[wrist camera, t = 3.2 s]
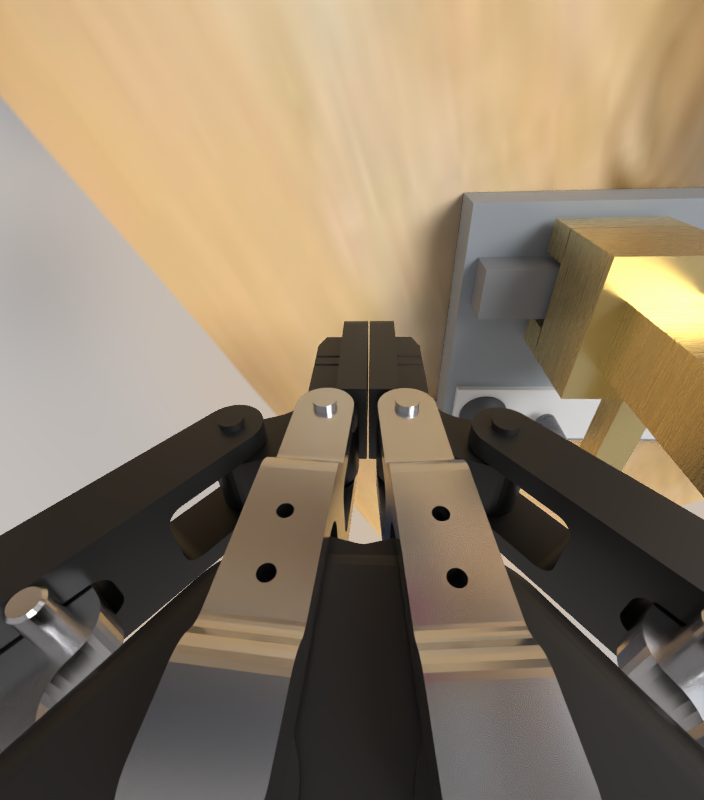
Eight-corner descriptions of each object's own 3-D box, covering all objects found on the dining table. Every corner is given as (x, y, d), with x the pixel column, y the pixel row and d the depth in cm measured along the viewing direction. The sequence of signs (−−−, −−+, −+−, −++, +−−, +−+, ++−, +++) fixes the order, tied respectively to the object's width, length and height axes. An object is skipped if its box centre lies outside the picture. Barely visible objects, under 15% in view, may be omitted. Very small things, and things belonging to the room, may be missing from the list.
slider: (555, 218, 14) (863, 420, 5) (668, 216, 14) (1186, 422, 5) (500, 422, 21) (600, 679, 11) (578, 423, 20) (743, 684, 11)
